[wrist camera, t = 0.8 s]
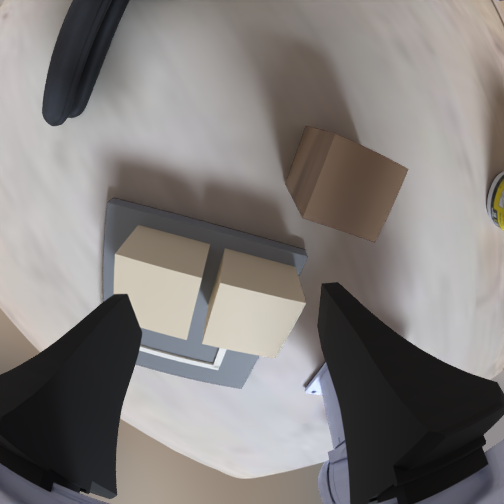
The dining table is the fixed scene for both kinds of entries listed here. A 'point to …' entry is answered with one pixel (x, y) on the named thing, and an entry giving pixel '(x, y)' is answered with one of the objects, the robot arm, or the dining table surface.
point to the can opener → (79, 57)
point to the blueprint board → (201, 291)
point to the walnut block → (343, 183)
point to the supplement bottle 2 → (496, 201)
